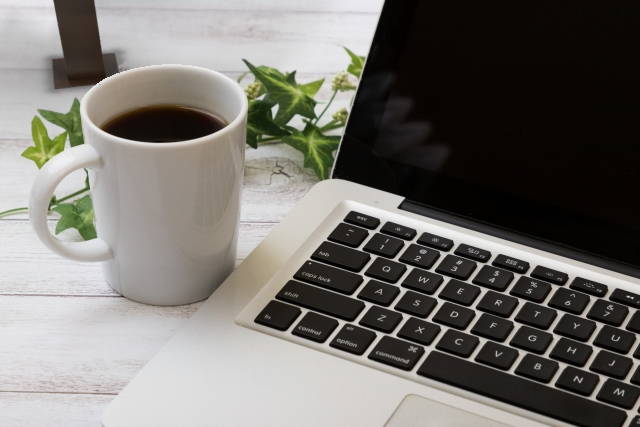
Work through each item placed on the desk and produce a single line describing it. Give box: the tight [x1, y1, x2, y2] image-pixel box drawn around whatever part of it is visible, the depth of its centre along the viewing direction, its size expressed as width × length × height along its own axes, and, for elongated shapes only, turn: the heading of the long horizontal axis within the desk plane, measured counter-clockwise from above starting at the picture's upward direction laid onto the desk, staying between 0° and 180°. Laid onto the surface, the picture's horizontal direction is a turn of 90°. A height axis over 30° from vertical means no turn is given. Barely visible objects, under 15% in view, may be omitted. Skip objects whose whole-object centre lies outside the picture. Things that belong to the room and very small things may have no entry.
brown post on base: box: [51, 0, 120, 90], centre depth 80 cm, size 14×7×18 cm, turn 17°
